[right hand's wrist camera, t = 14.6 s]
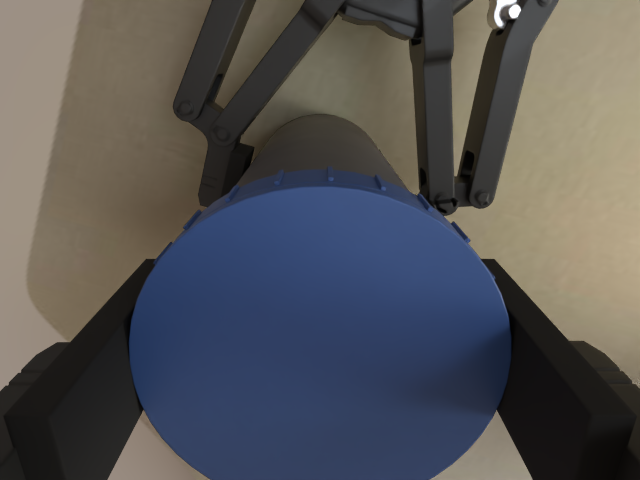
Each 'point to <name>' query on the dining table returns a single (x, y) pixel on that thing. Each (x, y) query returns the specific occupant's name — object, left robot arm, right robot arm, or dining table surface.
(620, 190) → the dining table surface
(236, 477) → the lid
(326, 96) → the dining table surface
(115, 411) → the right robot arm
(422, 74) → the left robot arm
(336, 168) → the jar
